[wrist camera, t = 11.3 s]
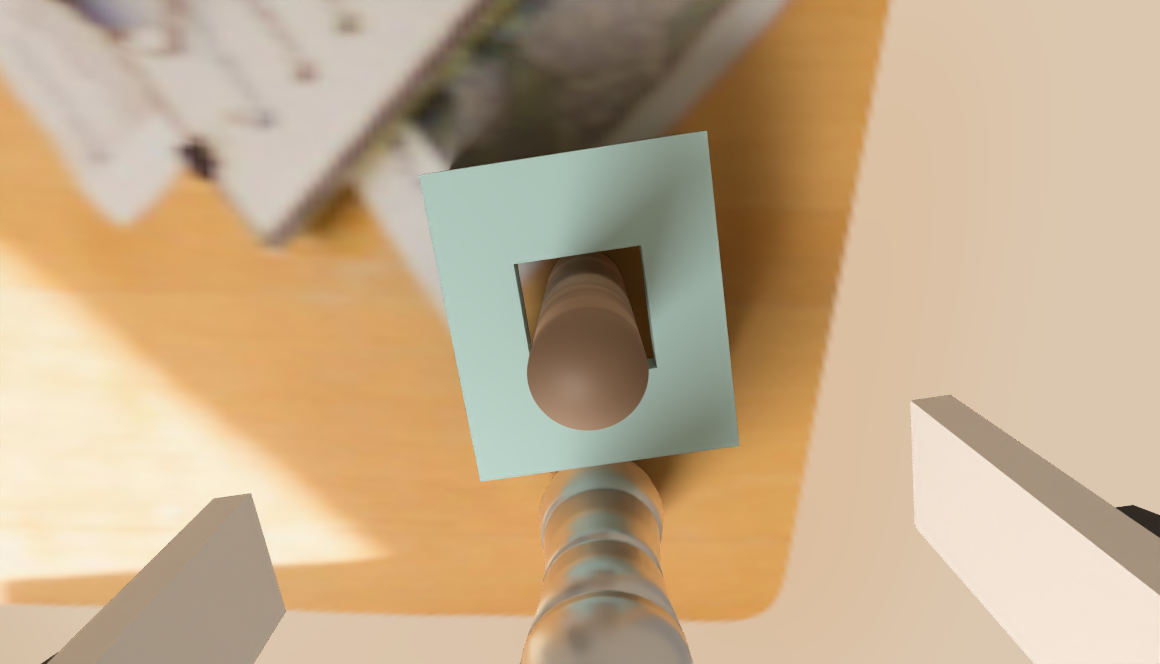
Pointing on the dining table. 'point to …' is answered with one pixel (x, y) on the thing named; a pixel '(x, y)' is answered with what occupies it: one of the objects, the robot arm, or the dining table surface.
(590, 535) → the plastic bottle
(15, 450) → the dining table surface
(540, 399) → the pin long
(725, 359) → the bridge
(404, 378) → the dining table surface
